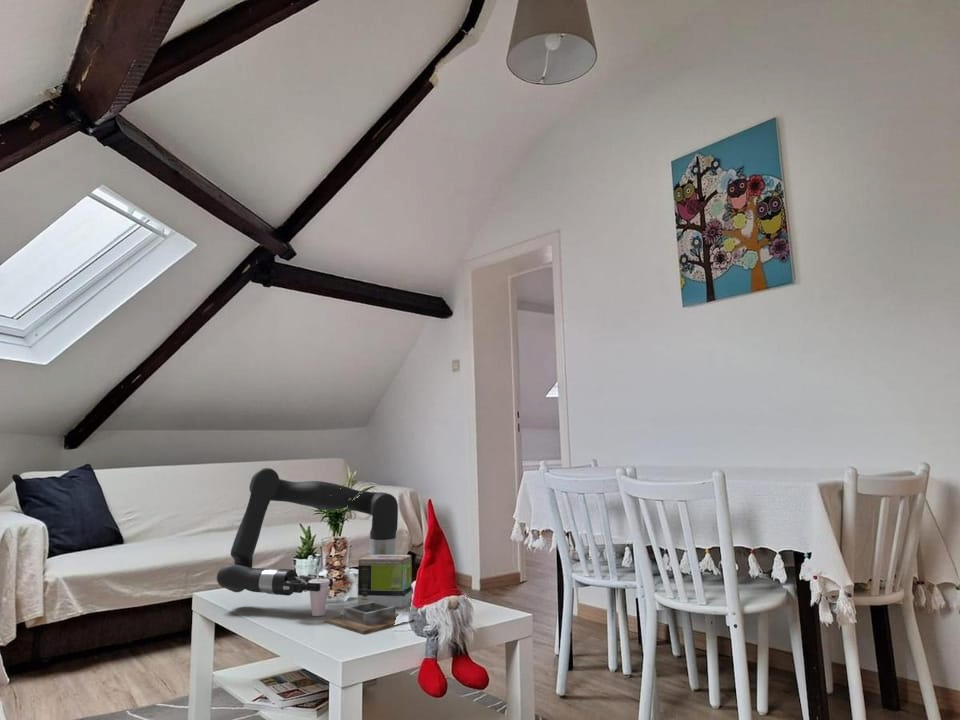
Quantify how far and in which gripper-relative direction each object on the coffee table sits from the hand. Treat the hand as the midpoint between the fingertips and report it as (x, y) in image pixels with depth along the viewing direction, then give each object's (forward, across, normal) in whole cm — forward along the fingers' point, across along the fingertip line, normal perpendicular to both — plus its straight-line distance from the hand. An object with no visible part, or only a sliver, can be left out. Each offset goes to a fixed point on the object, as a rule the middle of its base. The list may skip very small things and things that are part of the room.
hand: (326, 585), depth 183 cm
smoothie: (-2, 0, +9) cm, 9 cm away
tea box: (+11, +18, +9) cm, 23 cm away
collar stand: (+16, -2, +9) cm, 18 cm away
